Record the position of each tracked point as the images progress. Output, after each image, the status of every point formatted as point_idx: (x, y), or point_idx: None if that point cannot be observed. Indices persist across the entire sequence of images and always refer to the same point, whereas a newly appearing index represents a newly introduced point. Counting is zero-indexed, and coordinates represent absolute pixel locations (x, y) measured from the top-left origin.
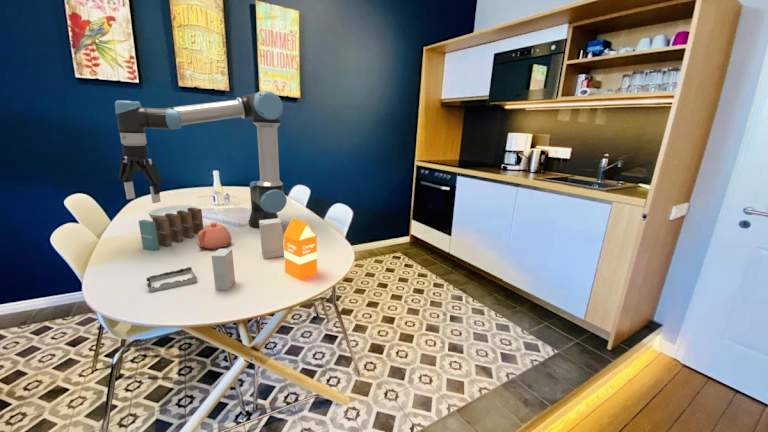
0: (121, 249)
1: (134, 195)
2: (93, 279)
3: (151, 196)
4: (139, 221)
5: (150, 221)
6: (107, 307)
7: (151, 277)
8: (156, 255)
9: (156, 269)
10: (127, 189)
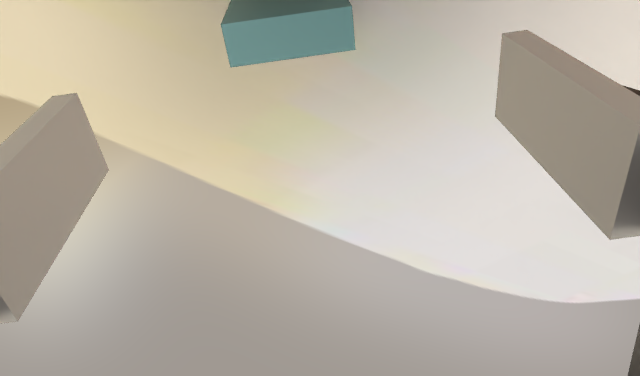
0: (161, 77)
1: (65, 111)
2: (408, 256)
3: (529, 151)
4: (240, 64)
5: (322, 24)
6: (607, 294)
7: None
8: (395, 26)
9: None
10: (60, 232)
